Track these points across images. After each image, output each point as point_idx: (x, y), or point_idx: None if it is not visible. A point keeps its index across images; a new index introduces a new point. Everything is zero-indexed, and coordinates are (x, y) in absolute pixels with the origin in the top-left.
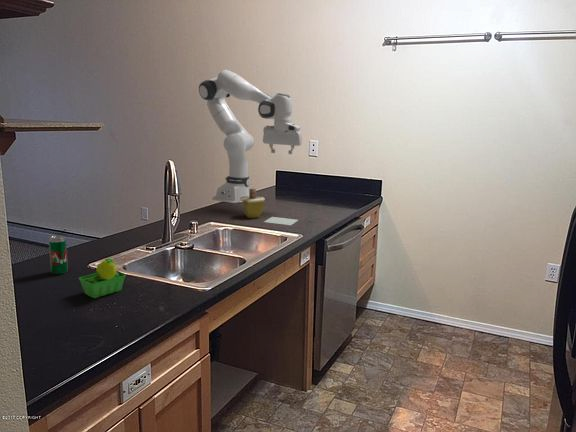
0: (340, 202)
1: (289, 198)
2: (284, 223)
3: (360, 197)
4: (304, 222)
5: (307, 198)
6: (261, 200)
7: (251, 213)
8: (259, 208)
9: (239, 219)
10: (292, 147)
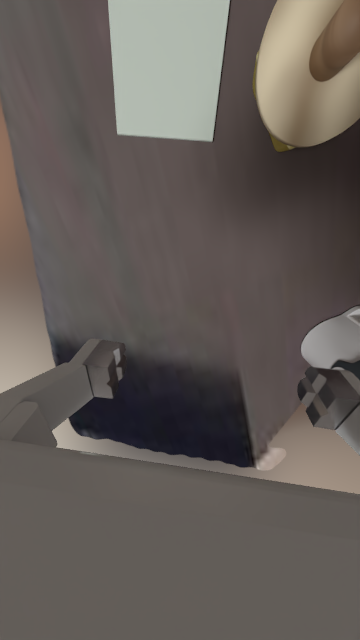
0: None
1: (211, 388)
2: (141, 17)
3: (94, 420)
4: (93, 116)
5: (176, 396)
6: (271, 14)
7: None
8: None
9: None
10: (7, 400)
